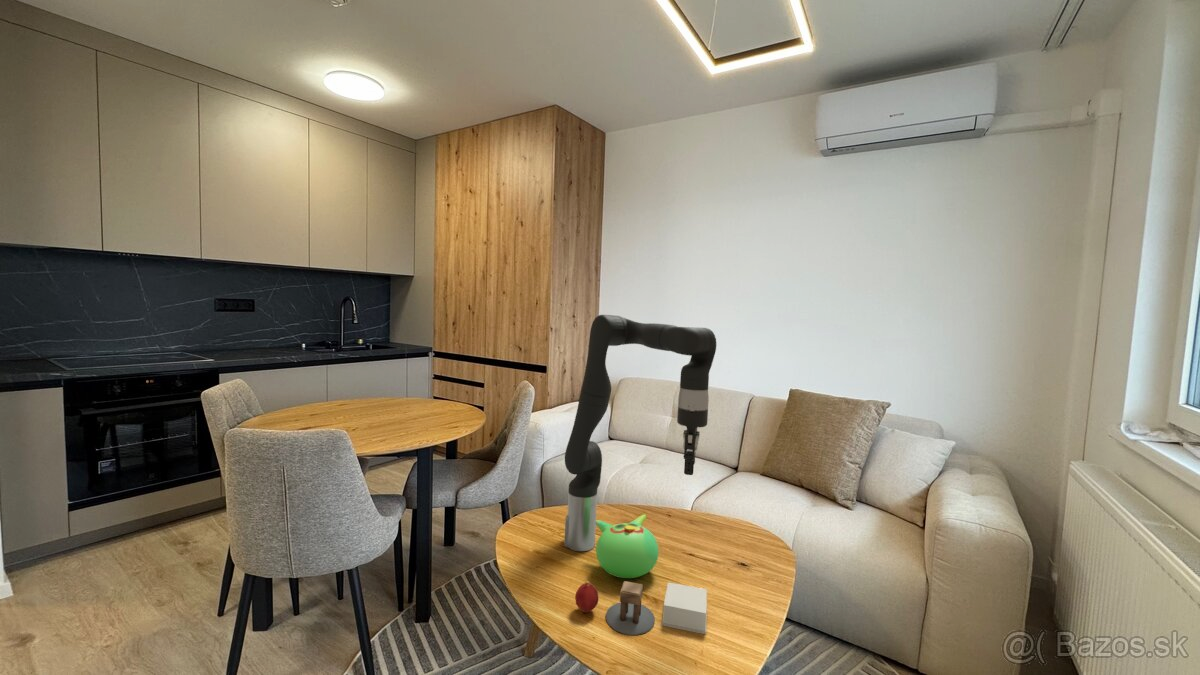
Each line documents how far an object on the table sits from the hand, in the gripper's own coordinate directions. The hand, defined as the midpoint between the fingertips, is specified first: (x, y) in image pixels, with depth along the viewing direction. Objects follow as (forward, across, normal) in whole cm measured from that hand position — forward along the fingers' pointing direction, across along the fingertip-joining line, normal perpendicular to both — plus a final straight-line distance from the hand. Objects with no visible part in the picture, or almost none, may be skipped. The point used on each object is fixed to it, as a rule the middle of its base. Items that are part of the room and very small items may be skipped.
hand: (689, 468), depth 118 cm
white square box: (+36, +4, +1) cm, 36 cm away
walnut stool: (+36, +9, -12) cm, 39 cm away
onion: (+36, +10, -23) cm, 44 cm away
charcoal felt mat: (+36, +9, -12) cm, 39 cm away
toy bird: (+36, -11, -17) cm, 42 cm away
